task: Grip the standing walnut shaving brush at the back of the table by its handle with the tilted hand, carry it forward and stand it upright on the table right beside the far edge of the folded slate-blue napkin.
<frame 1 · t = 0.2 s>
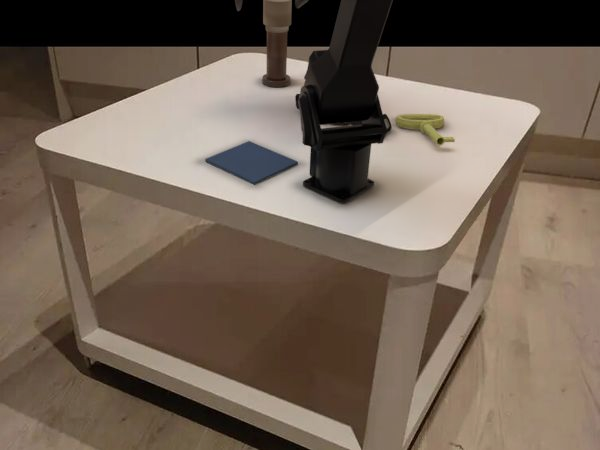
hand: (267, 7, 93), 14 cm above the table, tool tilted 35°, fingers open, 9 cm apart
key: (425, 134, 91), on the table
electric trimmer: (341, 124, 93), on the table
napkin: (251, 162, 80), on the table
shaving brush: (276, 82, 107), on the table
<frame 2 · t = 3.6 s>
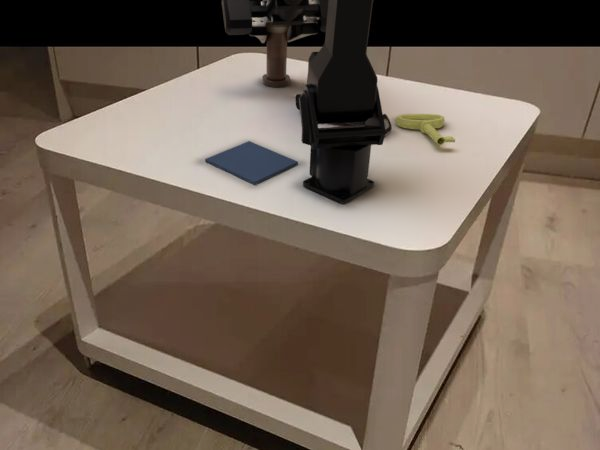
hand: (275, 39, 104), 7 cm above the table, tool tilted 45°, fingers closed on shaving brush, 4 cm apart
shaving brush: (276, 82, 107), on the table, touching gripper
everything else where it was.
when the fingers open (7 cm above the table, at t = 11.6 s): shaving brush stays where it is, on the table.
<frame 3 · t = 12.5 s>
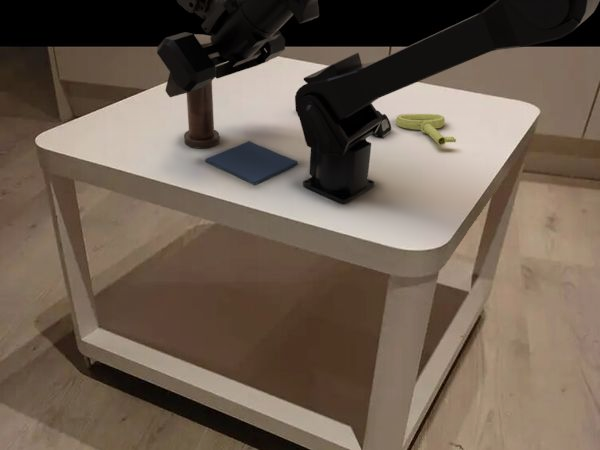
hand: (192, 84, 82), 8 cm above the table, tool tilted 45°, fingers open, 9 cm apart
shaving brush: (202, 141, 86), on the table
everything else where it was.
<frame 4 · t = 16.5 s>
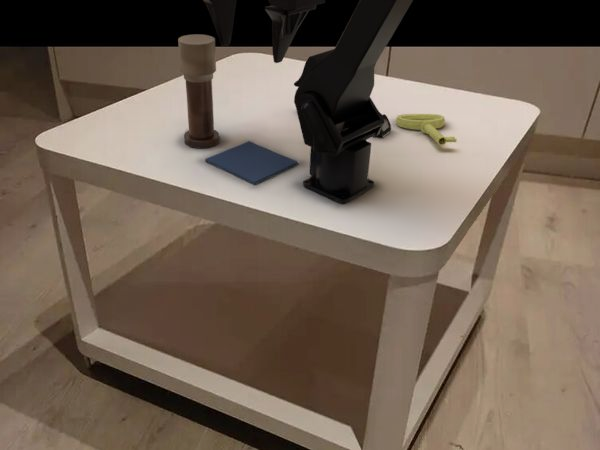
hand: (250, 53, 77), 13 cm above the table, tool pointing down, fingers open, 9 cm apart
nothing on the table moved.
at the end: shaving brush inside the target area on the table beside the napkin (0.2 cm from its centre), on the table; shaving brush tilted 0°; the gripper is holding nothing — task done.
